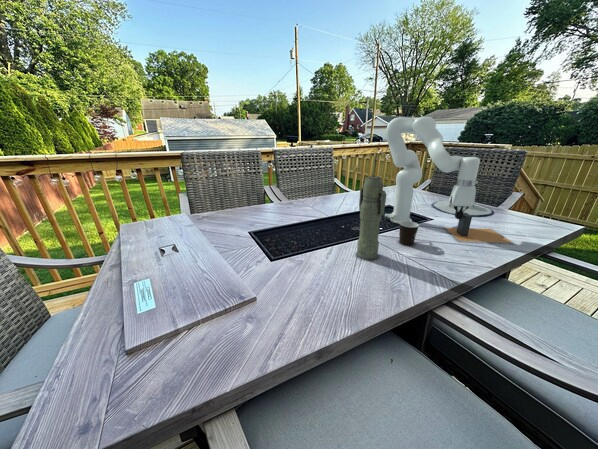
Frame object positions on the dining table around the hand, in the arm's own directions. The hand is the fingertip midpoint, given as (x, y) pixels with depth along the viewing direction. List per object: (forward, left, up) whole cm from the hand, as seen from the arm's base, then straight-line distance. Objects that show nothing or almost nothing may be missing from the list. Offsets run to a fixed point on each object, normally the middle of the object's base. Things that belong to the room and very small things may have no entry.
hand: (458, 218), depth 127 cm
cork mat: (+10, 0, -9) cm, 14 cm away
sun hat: (+25, +50, -9) cm, 57 cm away
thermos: (-49, -28, -9) cm, 57 cm away
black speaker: (+3, 0, -9) cm, 9 cm away
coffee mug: (-27, -12, -9) cm, 31 cm away
